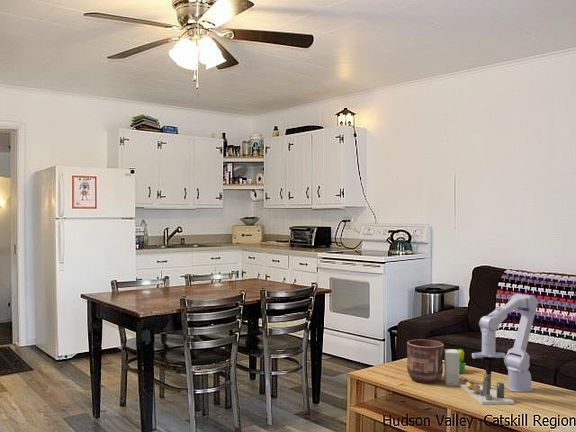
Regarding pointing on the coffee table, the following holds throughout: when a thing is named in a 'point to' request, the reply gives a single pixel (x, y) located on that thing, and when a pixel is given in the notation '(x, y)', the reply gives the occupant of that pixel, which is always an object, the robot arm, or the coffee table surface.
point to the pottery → (425, 360)
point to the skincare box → (451, 367)
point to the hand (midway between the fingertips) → (488, 374)
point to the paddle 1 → (465, 380)
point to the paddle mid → (472, 386)
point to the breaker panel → (495, 394)
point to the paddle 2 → (486, 388)
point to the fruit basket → (461, 364)
